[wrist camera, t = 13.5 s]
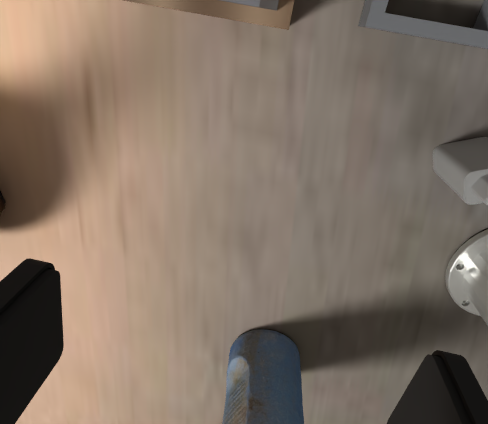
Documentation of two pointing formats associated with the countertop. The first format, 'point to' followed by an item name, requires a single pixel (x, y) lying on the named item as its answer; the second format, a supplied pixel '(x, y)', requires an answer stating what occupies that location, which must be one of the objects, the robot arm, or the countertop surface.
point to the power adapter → (464, 168)
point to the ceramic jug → (2, 203)
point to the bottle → (263, 380)
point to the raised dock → (234, 9)
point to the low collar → (425, 25)
